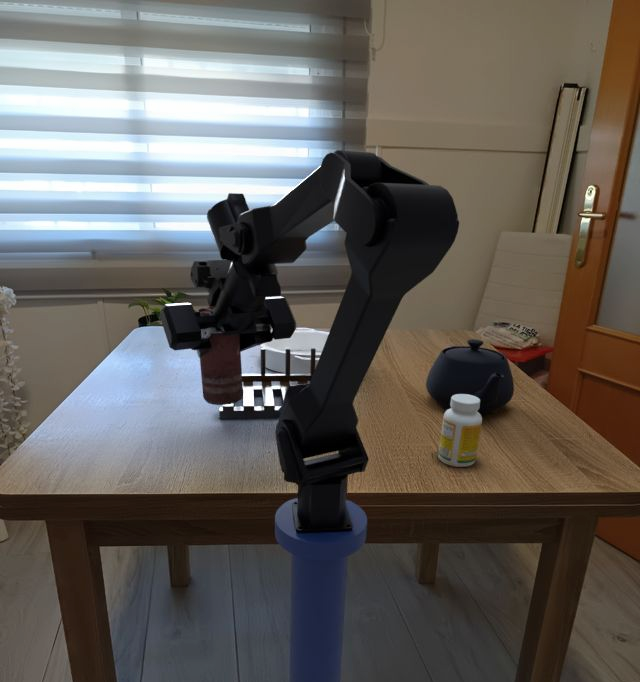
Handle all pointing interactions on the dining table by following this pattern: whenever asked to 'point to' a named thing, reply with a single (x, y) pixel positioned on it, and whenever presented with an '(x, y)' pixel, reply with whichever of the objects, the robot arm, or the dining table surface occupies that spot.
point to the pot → (295, 350)
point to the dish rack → (265, 391)
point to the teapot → (471, 376)
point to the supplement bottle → (460, 431)
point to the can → (221, 368)
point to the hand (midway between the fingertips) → (216, 352)
